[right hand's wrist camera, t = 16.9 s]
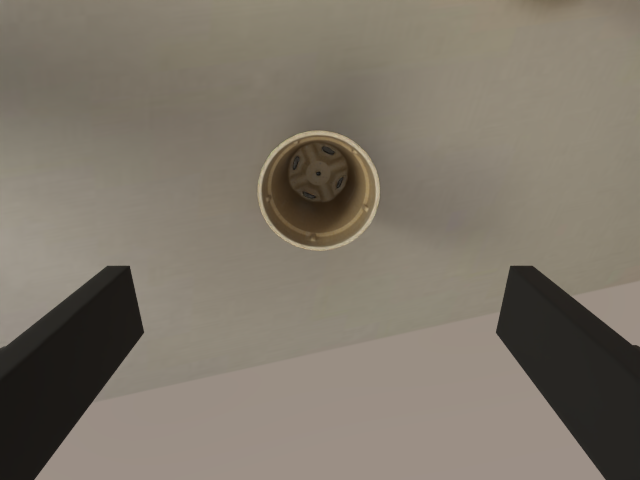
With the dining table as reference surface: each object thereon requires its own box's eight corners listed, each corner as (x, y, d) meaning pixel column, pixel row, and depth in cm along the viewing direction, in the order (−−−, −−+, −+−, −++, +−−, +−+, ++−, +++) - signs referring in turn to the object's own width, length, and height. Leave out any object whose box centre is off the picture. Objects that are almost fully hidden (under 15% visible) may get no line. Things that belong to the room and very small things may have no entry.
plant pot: (369, 122, 34) (384, 130, 26) (364, 217, 37) (377, 250, 29) (269, 122, 34) (253, 130, 26) (274, 217, 37) (261, 251, 29)
